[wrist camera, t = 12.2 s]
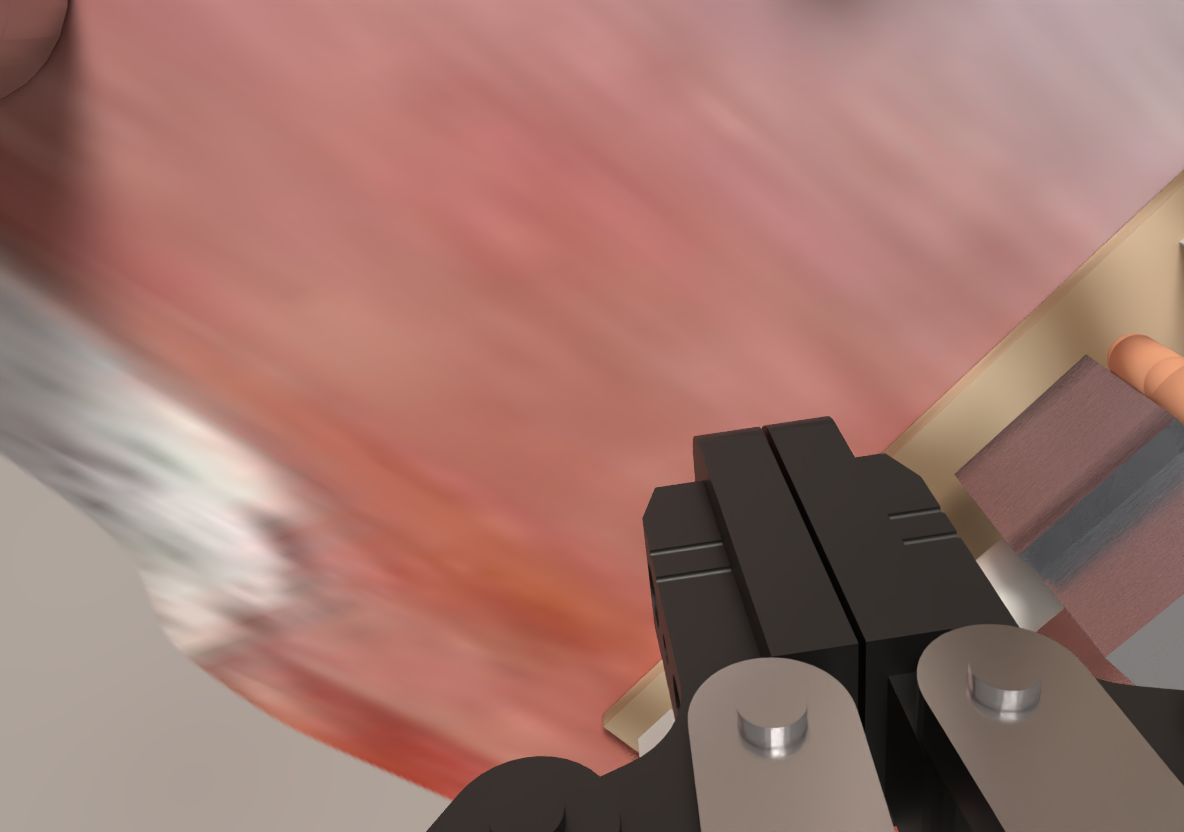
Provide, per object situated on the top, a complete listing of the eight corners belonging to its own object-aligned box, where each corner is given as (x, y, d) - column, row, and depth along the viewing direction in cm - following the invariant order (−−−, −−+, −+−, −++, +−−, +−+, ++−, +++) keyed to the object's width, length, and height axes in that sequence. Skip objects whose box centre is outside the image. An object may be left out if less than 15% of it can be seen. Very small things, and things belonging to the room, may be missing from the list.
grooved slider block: (1061, 572, 40) (1217, 758, 30) (953, 474, 39) (1081, 636, 29) (1192, 460, 39) (1401, 618, 29) (1086, 353, 37) (1268, 482, 27)
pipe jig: (721, 789, 47) (748, 938, 40) (636, 726, 46) (648, 868, 39) (1296, 287, 39) (1463, 355, 32) (1213, 195, 38) (1367, 244, 31)
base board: (737, 814, 48) (740, 827, 47) (602, 714, 46) (603, 726, 45) (1331, 303, 40) (1345, 309, 39) (1198, 155, 38) (1211, 158, 37)
